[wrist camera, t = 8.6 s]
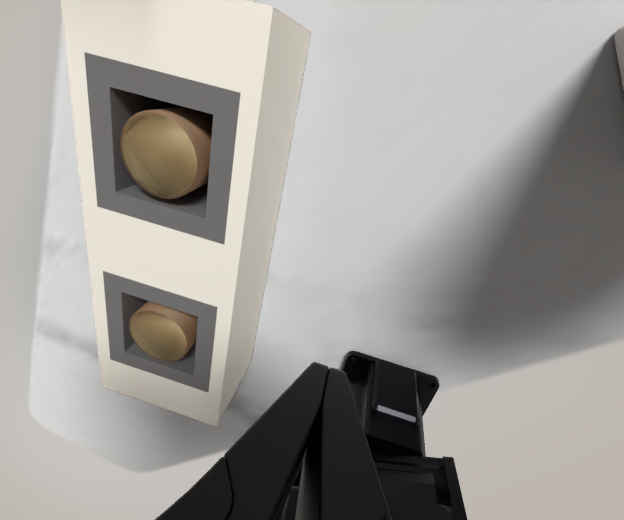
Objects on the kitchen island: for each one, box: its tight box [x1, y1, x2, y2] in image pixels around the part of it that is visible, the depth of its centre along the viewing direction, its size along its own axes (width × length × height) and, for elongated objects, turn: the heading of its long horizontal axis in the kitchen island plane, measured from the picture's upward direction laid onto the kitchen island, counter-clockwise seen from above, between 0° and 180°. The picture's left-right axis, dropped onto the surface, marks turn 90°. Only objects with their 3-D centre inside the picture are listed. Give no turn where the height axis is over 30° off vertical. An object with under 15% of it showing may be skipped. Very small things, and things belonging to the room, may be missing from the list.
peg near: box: [120, 107, 213, 199], centre depth 17 cm, size 4×4×6 cm
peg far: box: [129, 301, 198, 362], centre depth 22 cm, size 4×4×6 cm
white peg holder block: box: [61, 0, 311, 427], centre depth 20 cm, size 22×8×6 cm, turn 167°
